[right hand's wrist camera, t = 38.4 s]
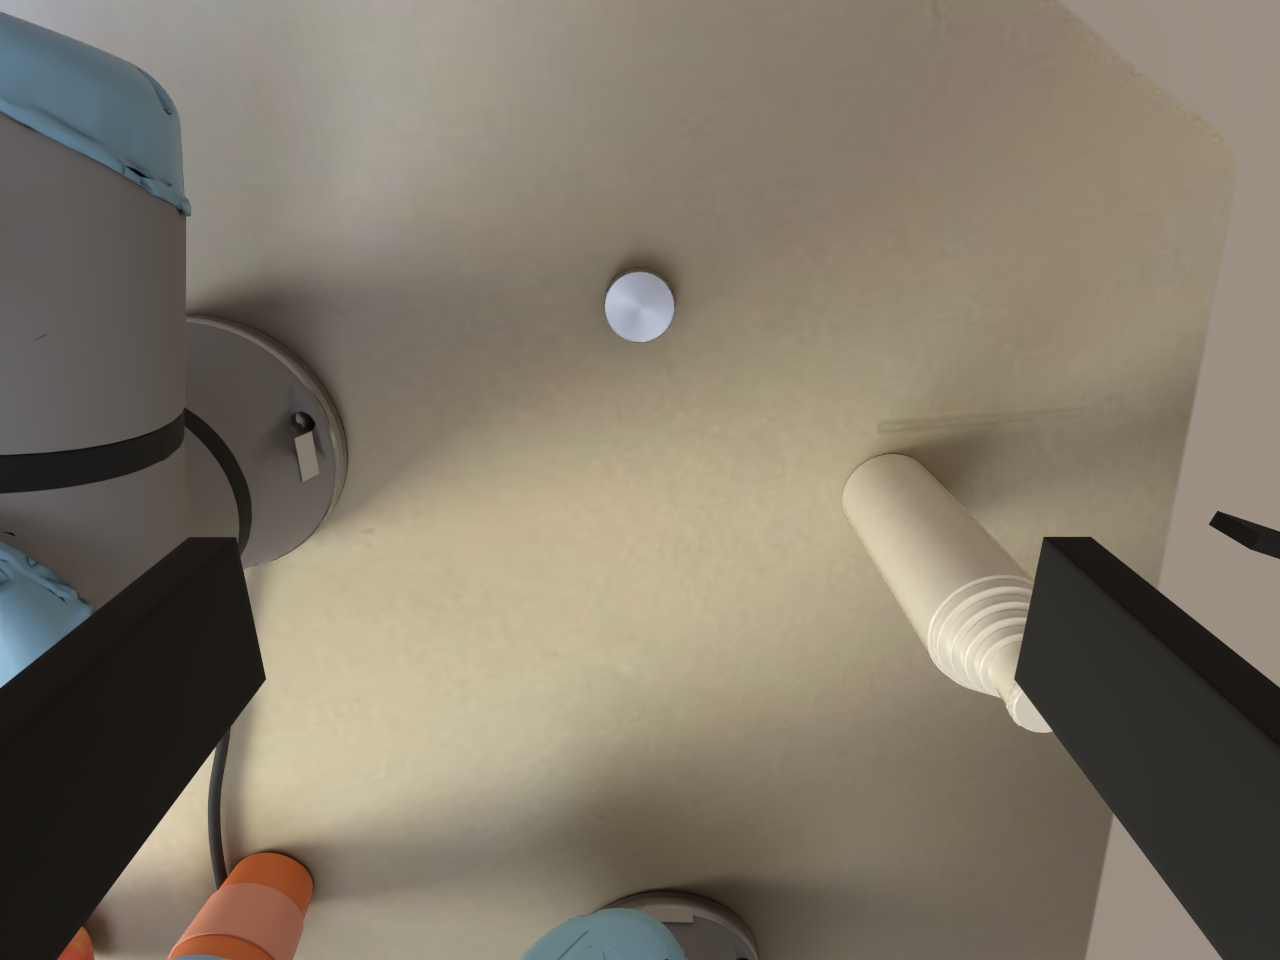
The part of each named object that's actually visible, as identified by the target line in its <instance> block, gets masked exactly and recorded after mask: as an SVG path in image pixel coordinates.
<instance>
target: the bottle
mask: <svg viewBox="0 0 1280 960" xmlns="http://www.w3.org/2000/svg"><path fill="white" fill-rule="evenodd" d="M842 506H843V510H844V513H845V516H846V518H847V520H848V521H849V523H850V525H851V526H852V528H853V530H854V531H855V533H856V534H857V536H858V538H859V539H860V541H861V543H862V544H863V546H864V548H865V549H866V551H867V553H868V554H869V556H870V558H871V559H872V561H873V563H874V564H875V566H876V568H877V569H878V571H879V572H880V574H881V576H882V577H883V579H884V581H885V582H886V584H887V586H888V587H889V589H890V591H891V592H892V594H893V596H894V597H895V599H896V601H897V602H898V604H899V606H900V607H901V609H902V610H903V612H904V614H905V615H906V617H907V619H908V620H909V622H910V624H911V625H912V627H913V629H914V630H915V632H916V634H917V635H918V637H919V639H920V640H921V642H922V643H923V645H924V647H925V648H926V650H927V652H928V653H929V655H930V657H931V658H932V660H933V662H934V663H935V665H936V666H937V667H938V668H939V669H940V670H941V671H942V672H943V673H944V674H946V675H947V676H949V677H950V678H951V679H952V680H953V681H955V682H956V683H958V684H960V685H962V686H964V687H966V688H969V689H972V690H975V691H978V692H981V693H986V694H989V695H992V696H996V697H999V698H1002V700H1003V701H1004V703H1005V704H1006V707H1007V710H1008V712H1009V714H1010V716H1011V717H1012V718H1013V720H1014V721H1015V722H1016V723H1017V724H1018V726H1023V727H1024V728H1026V729H1028V730H1030V731H1033V732H1040V733H1046V732H1052V729H1051V728H1050V727H1049V725H1048V724H1047V723H1046V721H1045V720H1044V719H1043V717H1042V716H1041V715H1040V713H1039V712H1038V711H1037V709H1036V708H1035V707H1034V705H1033V704H1032V703H1031V701H1030V700H1029V699H1028V697H1027V696H1026V695H1025V693H1024V692H1023V691H1022V689H1021V688H1020V687H1019V685H1018V684H1017V682H1016V681H1015V680H1014V677H1015V672H1016V667H1017V663H1018V658H1019V653H1020V648H1021V644H1022V639H1023V634H1024V629H1025V624H1026V620H1027V615H1028V610H1029V605H1030V600H1031V596H1032V591H1033V586H1034V581H1035V579H1034V578H1033V577H1032V576H1031V575H1030V574H1029V573H1028V572H1027V571H1026V570H1025V569H1024V568H1023V567H1022V566H1021V565H1020V564H1019V563H1018V562H1017V561H1016V560H1015V559H1014V558H1013V557H1012V556H1011V555H1010V554H1009V553H1008V552H1007V551H1006V550H1005V549H1004V548H1003V547H1002V546H1001V545H1000V544H999V543H998V542H997V541H996V540H995V539H994V538H993V537H992V536H991V535H990V534H989V533H988V532H987V531H986V529H985V528H984V527H983V526H982V525H981V524H980V523H979V522H978V521H977V520H976V519H975V518H974V517H973V516H972V515H971V514H970V513H969V512H968V511H967V510H966V509H965V508H964V507H963V506H962V505H961V504H960V503H959V502H958V501H957V500H956V499H955V498H954V497H953V496H952V495H951V494H950V493H949V492H948V491H947V490H946V489H945V488H944V487H943V486H942V485H941V484H940V483H939V482H938V480H937V479H936V478H935V477H934V476H933V475H932V474H931V473H930V472H929V471H928V470H927V469H926V468H925V467H924V466H923V465H922V464H921V463H919V462H918V461H917V460H915V459H913V458H911V457H908V456H905V455H900V454H886V455H881V456H877V457H874V458H872V459H870V460H868V461H866V462H864V463H863V464H862V465H860V466H859V467H858V468H857V469H856V470H855V471H854V472H853V473H852V474H851V476H850V477H849V479H848V481H847V483H846V485H845V487H844V491H843V495H842Z"/></svg>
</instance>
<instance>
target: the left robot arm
mask: <svg viewBox="0 0 1280 960" xmlns="http://www.w3.org/2000/svg"><path fill="white" fill-rule="evenodd" d="M1209 525H1210V526H1212V527H1214V528H1215V529H1217V530H1219V531H1220V532H1222V533H1224V534H1225V535H1227V536H1229V537H1230V538H1232V539H1234V540H1236V541H1237V542H1239V543H1241V544H1242V545H1244V546H1246V547H1247V548H1249V549H1251V550H1254V551H1257V552H1260V553H1263V554H1266V555H1269V556H1272V557H1275V558H1278V559H1280V532H1279V531H1276V530H1273V529H1270V528H1267V527H1264V526H1261V525H1258V524H1255V523H1252V522H1249V521H1246V520H1243V519H1240V518H1237V517H1234V516H1231V515H1228V514H1225V513H1222V512H1219V511H1217V513H1216V514H1215V516H1214V517H1213V519H1212V520H1211V522H1210V523H1209ZM519 960H759V959H758V952H757V947H756V943H755V940H754V938H753V936H752V934H751V932H750V930H749V929H748V927H747V926H746V925H745V924H744V922H743V921H742V920H741V919H740V918H739V917H738V916H736V915H735V914H734V913H733V912H731V911H730V910H729V909H727V908H725V907H724V906H722V905H720V904H718V903H716V902H714V901H711V900H709V899H706V898H703V897H700V896H696V895H691V894H687V893H679V892H651V893H644V894H638V895H634V896H630V897H627V898H624V899H621V900H618V901H616V902H614V903H611V904H610V905H608V906H606V907H604V908H602V909H601V910H599V911H597V912H595V913H593V914H591V915H589V916H584V915H579V916H577V917H575V918H572V919H570V920H568V921H566V922H564V923H562V924H560V925H559V926H557V927H555V928H554V929H552V930H551V931H549V932H548V933H547V934H545V935H544V936H543V937H541V938H540V939H539V940H538V941H537V942H535V943H534V944H533V945H532V946H531V947H530V948H529V949H528V950H527V951H526V952H525V953H524V954H523V955H522V956H521V958H520V959H519Z"/></svg>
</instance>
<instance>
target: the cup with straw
mask: <svg viewBox="0 0 1280 960" xmlns="http://www.w3.org/2000/svg"><path fill="white" fill-rule="evenodd" d="M312 893H313V882H312V879H311V877H310V875H309V873H308V872H307V870H306V869H305V868H304V867H303V866H302V865H301V864H300V863H298V862H297V861H295V860H293V859H291V858H289V857H287V856H284V855H281V854H276V853H258V854H254V855H251V856H248V857H246V858H244V859H243V860H242V861H240V862H239V863H238V864H237V865H236V867H235V868H234V869H233V871H232V872H231V873H230V875H229V876H228V877H227V879H226V880H225V882H224V883H223V884H222V886H221V887H220V889H219V890H218V891H216V892H215V893H214V894H213V895H212V896H211V897H210V898H209V899H208V901H207V902H206V903H205V905H204V906H203V908H202V909H201V910H200V912H199V913H198V914H197V916H196V917H195V919H194V920H193V921H192V923H191V924H190V925H189V927H188V928H187V930H186V931H185V932H184V934H183V935H182V936H181V938H180V939H179V941H178V942H177V943H176V945H175V946H174V947H173V949H172V950H171V952H170V954H169V957H168V960H293V957H294V954H295V951H296V949H297V946H298V943H299V940H300V937H301V934H302V931H303V920H304V917H305V914H306V911H307V908H308V905H309V902H310V899H311V896H312Z"/></svg>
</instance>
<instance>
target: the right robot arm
mask: <svg viewBox="0 0 1280 960" xmlns="http://www.w3.org/2000/svg"><path fill="white" fill-rule="evenodd" d="M186 216H191V205H190V202H189V200H188V199H187V198H186V197H185V196H184V180H183V162H182V144H181V126H180V119H179V115H178V112H177V109H176V107H175V105H174V103H173V101H172V100H171V98H170V96H169V95H168V93H167V92H166V91H165V90H164V88H163V87H162V86H161V85H160V84H159V83H158V82H157V81H156V80H155V79H154V78H153V77H151V76H150V75H149V74H148V73H146V72H145V71H143V70H142V69H140V68H139V67H137V66H135V65H133V64H131V63H130V62H128V61H125V60H123V59H121V58H119V57H116V56H114V55H112V54H109V53H107V52H105V51H102V50H100V49H98V48H95V47H93V46H90V45H88V44H85V43H83V42H80V41H78V40H75V39H72V38H70V37H67V36H65V35H62V34H59V33H57V32H54V31H52V30H49V29H46V28H44V27H41V26H38V25H36V24H33V23H30V22H27V21H25V20H22V19H19V18H16V17H14V16H11V15H8V14H6V13H3V12H0V960H57V959H58V958H59V956H60V955H61V954H62V952H63V951H64V950H65V948H66V947H67V946H68V944H69V943H70V942H71V940H72V939H73V938H74V936H75V935H76V934H77V932H78V931H79V930H80V928H81V927H82V926H83V924H84V923H85V922H86V920H87V919H88V917H89V916H90V915H91V913H92V912H93V911H94V909H95V908H96V907H97V905H98V904H99V903H100V901H101V900H102V899H103V897H104V896H105V895H106V893H107V892H108V891H109V889H110V888H111V887H112V885H113V884H114V883H115V881H116V880H117V879H118V877H119V876H120V875H121V873H122V872H123V870H124V869H125V868H126V866H127V865H128V864H129V862H130V861H131V860H132V858H133V857H134V856H135V854H136V853H137V852H138V850H139V849H140V848H141V846H142V845H143V844H144V842H145V841H146V840H147V838H148V837H149V836H150V834H151V833H152V832H153V830H154V829H155V828H156V826H157V825H158V823H159V822H160V821H161V819H162V818H163V817H164V815H165V814H166V813H167V811H168V810H169V809H170V807H171V806H172V805H173V803H174V802H175V801H176V799H177V798H178V797H179V795H180V794H181V793H182V791H183V790H184V789H185V787H186V786H187V785H188V783H189V782H190V781H191V779H192V778H193V776H194V775H195V774H196V772H197V771H198V770H199V768H200V767H201V766H202V764H203V763H204V762H205V760H206V759H207V758H208V756H209V755H210V754H211V752H212V751H213V750H214V748H215V747H216V751H215V757H214V762H213V768H212V774H211V780H210V787H209V798H208V830H209V843H210V852H211V859H212V865H213V871H214V876H215V881H216V886H217V891H218V890H219V889H220V887H221V886H222V884H223V883H224V882H225V880H226V879H227V873H226V868H225V862H224V856H223V849H222V840H221V825H220V799H221V787H222V779H223V773H224V768H225V762H226V757H227V751H228V745H229V738H230V728H231V725H232V724H233V723H234V721H235V720H236V719H237V717H238V716H239V715H240V713H241V712H242V711H243V709H244V708H245V707H246V705H247V704H248V703H249V701H250V700H251V699H252V697H253V696H254V695H255V693H256V692H257V691H258V689H259V688H260V687H261V685H262V684H263V682H264V681H265V680H266V677H265V672H264V667H263V663H262V658H261V653H260V648H259V644H258V639H257V634H256V629H255V624H254V620H253V615H252V610H251V605H250V600H249V596H248V591H247V586H246V581H245V577H244V572H243V569H245V568H248V567H251V566H256V565H260V564H263V563H267V562H269V561H272V560H275V559H278V558H280V557H282V556H284V555H286V554H288V553H289V552H291V551H293V550H294V549H296V548H297V547H299V546H300V545H301V544H302V543H304V542H305V541H306V540H307V539H308V538H309V537H310V536H311V535H312V534H313V533H314V532H315V531H316V530H317V529H318V528H319V527H320V525H321V524H322V523H323V522H324V521H325V520H326V518H327V517H328V516H329V515H330V513H331V512H332V510H333V508H334V507H335V505H336V503H337V501H338V499H339V497H340V494H341V491H342V488H343V485H344V480H345V476H346V467H347V450H346V441H345V436H344V431H343V427H342V424H341V421H340V418H339V415H338V413H337V410H336V408H335V406H334V404H333V402H332V400H331V398H330V396H329V394H328V393H327V391H326V390H325V388H324V387H323V385H322V384H321V382H320V381H319V380H318V378H317V377H316V376H315V375H314V373H313V372H312V371H311V370H310V369H309V368H308V367H307V366H306V365H305V364H304V362H302V361H301V360H300V359H299V358H298V357H297V356H296V355H295V354H294V353H292V352H291V351H290V350H288V349H287V348H286V347H285V346H283V345H282V344H280V343H279V342H277V341H276V340H274V339H273V338H271V337H269V336H267V335H266V334H264V333H262V332H260V331H258V330H256V329H253V328H251V327H249V326H246V325H243V324H240V323H237V322H234V321H231V320H227V319H222V318H217V317H210V316H196V315H190V316H186ZM1014 680H1015V681H1016V682H1017V684H1018V685H1019V687H1020V688H1021V689H1022V691H1023V692H1024V693H1025V695H1026V696H1027V697H1028V699H1029V700H1030V701H1031V703H1032V704H1033V705H1034V707H1035V708H1036V709H1037V711H1038V712H1039V713H1040V715H1041V716H1042V717H1043V719H1044V720H1045V721H1046V723H1047V724H1048V725H1049V727H1050V728H1051V729H1052V731H1053V732H1054V734H1055V735H1056V736H1057V738H1058V739H1059V740H1060V742H1061V743H1062V744H1063V746H1064V747H1065V748H1066V750H1067V751H1068V752H1069V754H1070V755H1071V756H1072V758H1073V759H1074V760H1075V762H1076V763H1077V764H1078V766H1079V767H1080V768H1081V770H1082V771H1083V772H1084V774H1085V775H1086V776H1087V778H1088V779H1089V781H1090V782H1091V783H1092V785H1093V786H1094V787H1095V789H1096V790H1097V791H1098V793H1099V794H1100V795H1101V797H1102V798H1103V799H1104V801H1105V802H1106V803H1107V805H1108V806H1109V807H1110V809H1111V810H1112V811H1113V813H1114V814H1115V815H1116V817H1117V818H1118V819H1119V821H1120V822H1121V823H1122V825H1123V826H1124V827H1125V829H1126V830H1127V832H1128V833H1129V834H1130V836H1131V837H1132V838H1133V840H1134V841H1135V842H1136V844H1137V845H1138V846H1139V848H1140V849H1141V850H1142V852H1143V853H1144V854H1145V856H1146V857H1147V858H1148V860H1149V861H1150V862H1151V864H1152V865H1153V866H1154V868H1155V869H1156V870H1157V872H1158V873H1159V875H1160V876H1161V877H1162V879H1163V880H1164V881H1165V883H1166V884H1167V885H1168V887H1169V888H1170V889H1171V891H1172V892H1173V893H1174V895H1175V896H1176V897H1177V899H1178V900H1179V901H1180V903H1181V904H1182V905H1183V907H1184V908H1185V909H1186V911H1187V912H1188V913H1189V915H1190V916H1191V917H1192V919H1193V920H1194V921H1195V923H1196V924H1197V925H1198V927H1199V928H1200V929H1201V931H1202V932H1203V934H1204V935H1205V936H1206V938H1207V939H1208V940H1209V942H1210V943H1211V944H1212V946H1213V947H1214V948H1215V950H1216V951H1217V952H1218V954H1219V955H1220V956H1221V958H1222V959H1223V960H1280V688H1279V687H1278V686H1277V685H1276V684H1274V683H1273V682H1272V681H1271V680H1269V679H1268V678H1267V677H1266V676H1264V675H1263V674H1262V673H1261V672H1259V671H1258V670H1257V669H1256V668H1254V667H1253V666H1252V665H1251V664H1249V663H1248V662H1247V661H1245V660H1244V659H1243V658H1242V657H1240V656H1239V655H1238V654H1237V653H1235V652H1234V651H1233V650H1232V649H1230V648H1229V647H1228V646H1227V645H1225V644H1224V643H1223V642H1222V641H1220V640H1219V639H1218V638H1217V637H1215V636H1214V635H1213V634H1212V633H1210V632H1209V631H1208V630H1207V629H1205V628H1204V627H1203V626H1202V625H1200V624H1199V623H1198V622H1197V621H1195V620H1194V619H1193V618H1192V617H1190V616H1189V615H1188V614H1187V613H1185V612H1184V611H1183V610H1182V609H1180V608H1179V607H1178V606H1177V605H1175V604H1174V603H1173V602H1172V601H1170V600H1169V599H1168V598H1167V597H1165V596H1164V595H1163V594H1162V593H1160V592H1159V591H1158V590H1157V589H1155V588H1154V587H1153V586H1152V585H1150V584H1149V583H1148V582H1147V581H1145V580H1144V579H1143V578H1142V577H1140V576H1139V575H1138V574H1137V573H1135V572H1134V571H1133V570H1132V569H1130V568H1129V567H1128V566H1127V565H1125V564H1124V563H1123V562H1122V561H1120V560H1119V559H1118V558H1117V557H1115V556H1114V555H1113V554H1112V553H1110V552H1109V551H1108V550H1107V549H1105V548H1104V547H1103V546H1102V545H1100V544H1099V543H1098V542H1097V541H1095V540H1094V539H1093V538H1092V537H1044V538H1043V543H1042V548H1041V553H1040V557H1039V562H1038V567H1037V572H1036V577H1035V581H1034V586H1033V591H1032V596H1031V600H1030V605H1029V610H1028V615H1027V620H1026V624H1025V629H1024V634H1023V639H1022V644H1021V648H1020V653H1019V658H1018V663H1017V667H1016V672H1015V677H1014Z"/></svg>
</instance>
